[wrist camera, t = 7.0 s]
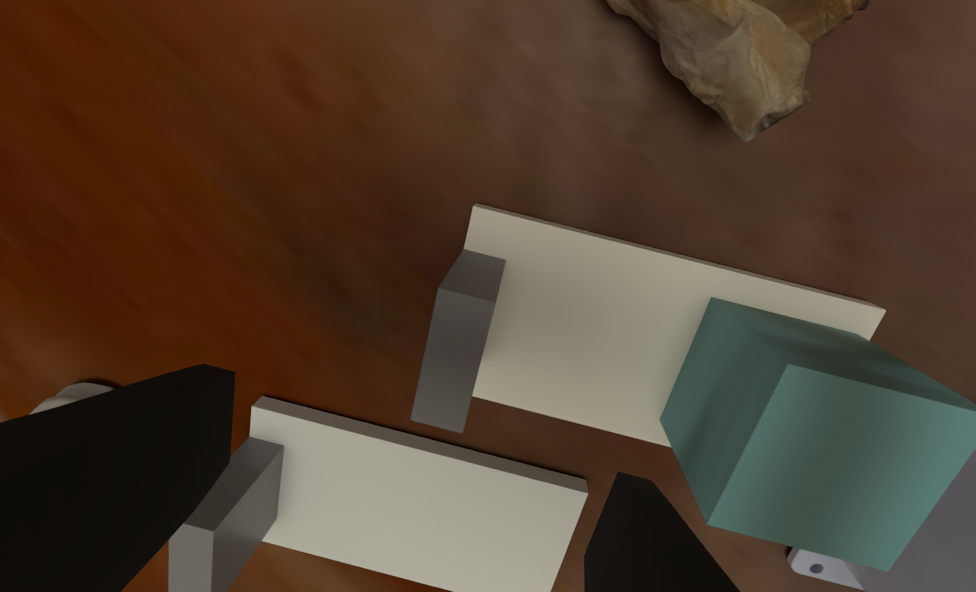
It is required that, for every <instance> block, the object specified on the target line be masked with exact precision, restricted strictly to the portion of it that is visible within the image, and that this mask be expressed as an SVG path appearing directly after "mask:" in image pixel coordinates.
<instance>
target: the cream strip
mask: <svg viewBox="0 0 976 592" xmlns="http://www.w3.org/2000/svg"><path fill="white" fill-rule="evenodd" d="M711 297H714V298H718V299H722V300H726V301H730V302H734V303H738V304H742V305H746V306H750V307H754V308H758V309H761V310H765V311H769V312H773V313H777V314H781V315H785V316H789V317H793V318H797V319H801V320H805V321H809V322H813V323H817V324H821V325H825V326H829V327H833V328H837V329H841V330H845V331H848V332H852V333H856V334H858V335H860V336H862V337H863V338H865V339H867V340H868V341H869V340H870V339H871V337H872V335H873V333H874V332H875V330H876V328H877V326H878V324H879V323H880V321H881V319H882V317H883V315H884V314H885V312H886V310H885V309H883V308H881V307H879V306H877V305H874V304H872V303H870V302H867V301H863V300H859V299H855V298H851V297H847V296H843V295H839V294H835V293H831V292H827V291H823V290H819V289H815V288H811V287H807V286H803V285H799V284H795V283H791V282H787V281H783V280H779V279H775V278H771V277H768V276H764V275H760V274H756V273H752V272H748V271H744V270H740V269H736V268H732V267H728V266H724V265H720V264H716V263H712V262H708V261H704V260H700V259H696V258H692V257H688V256H684V255H680V254H676V253H672V252H668V251H664V250H660V249H656V248H652V247H648V246H644V245H640V244H637V243H633V242H629V241H625V240H621V239H617V238H613V237H609V236H605V235H601V234H597V233H593V232H589V231H585V230H581V229H577V228H573V227H569V226H565V225H561V224H557V223H553V222H549V221H545V220H541V219H537V218H533V217H529V216H525V215H521V214H517V213H513V212H509V211H506V210H502V209H498V208H494V207H490V206H486V205H482V204H478V203H476V204H475V205H474V206H473V209H472V214H471V218H470V223H469V227H468V232H467V236H466V241H465V245H464V249H463V251H462V252H461V254H460V255H459V257H458V258H457V260H456V261H455V263H454V264H453V266H452V268H451V269H450V271H449V272H448V274H447V275H446V277H445V278H444V280H443V281H442V283H441V284H440V286H439V287H438V291H437V296H436V301H435V305H434V310H433V315H432V320H431V324H430V329H429V334H428V339H427V343H426V348H425V353H424V358H423V362H422V367H421V372H420V377H419V381H418V386H417V391H416V396H415V400H414V405H413V410H412V415H411V420H412V421H416V422H420V423H424V424H427V425H431V426H435V427H439V428H443V429H447V430H451V431H454V432H458V433H463V429H464V425H465V421H466V418H467V414H468V410H469V406H470V402H471V398H472V396H474V397H478V398H482V399H486V400H490V401H493V402H497V403H501V404H505V405H509V406H513V407H517V408H521V409H524V410H528V411H532V412H536V413H540V414H544V415H548V416H552V417H555V418H559V419H563V420H567V421H571V422H575V423H579V424H583V425H587V426H590V427H594V428H598V429H602V430H606V431H610V432H614V433H618V434H621V435H625V436H629V437H633V438H637V439H641V440H645V441H649V442H652V443H656V444H660V445H664V446H668V447H671V445H670V442H669V440H668V438H667V436H666V434H665V431H664V429H663V427H662V425H661V423H660V417H661V415H662V412H663V410H664V408H665V405H666V403H667V401H668V398H669V396H670V393H671V391H672V389H673V386H674V384H675V382H676V379H677V377H678V374H679V372H680V370H681V367H682V365H683V363H684V360H685V358H686V355H687V353H688V351H689V348H690V346H691V344H692V341H693V339H694V336H695V334H696V332H697V329H698V327H699V325H700V322H701V320H702V317H703V315H704V313H705V310H706V308H707V306H708V303H709V301H710V298H711Z"/></svg>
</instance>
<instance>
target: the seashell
mask: <svg viewBox="0 0 976 592" xmlns="http://www.w3.org/2000/svg"><path fill="white" fill-rule="evenodd" d="M605 1H606V2H607V3H608V4H609V5H610V6H611V8H612V9H613V10H614V11H615V12H616V13H617V14H622V15H628V16H630V17H631V18H632V19H633V20H634V21H635V22H636V23H637V24H638V25H639V26H640V27H641V28H642V29H643V30H644V31H645V32H646V34H648V35H649V36H650V37H651V38H652V39H653V40H655V41H656V42H657V43H658V44H659V45H660V52H661V57H662V60H663V63H664V65H665V66H666V68H667V69H668V70H669V71H670V73H671V74H672V75H673V76H675V77H677V78H679V79H681V80H683V82H684V83H685V85H686V86H687V88H688V89H689V91H690V92H691V94H693V95H694V96H696V97H697V98H699V99H700V100H701V101H702V102H703V103H704V104H707V105H708V106H710V107H711V108H713V109H714V110H716V111H717V112H718V113H719V115H720V116H721V117H722V118H723V120H724V121H725V122H726V124H727V125H728V126H729V128H730V129H731V130H732V131H733V132H734V134H735V135H736V136H737V137H738V138H739V139H740V140H741V141H742V143H746V142H748V141H750V140H752V139H754V138H755V137H756V136H757V135H758V134H759V133H761V132H762V131H764V130H765V129H767V128H769V127H770V126H772V125H773V124H775V123H777V122H778V121H780V120H781V119H783V118H785V117H786V116H788V115H789V114H791V113H793V112H794V111H796V110H797V109H799V108H801V107H802V106H804V105H805V104H807V103H809V101H810V99H811V97H812V94H811V92H810V91H806V90H804V76H805V73H806V70H807V68H808V65H809V61H810V54H811V48H812V47H813V46H814V45H815V44H816V43H817V42H818V41H819V40H820V39H822V38H823V37H825V36H827V35H828V34H829V33H831V32H832V31H833V30H834V29H835V28H836V27H838V26H839V25H840V24H842V23H843V22H845V21H847V20H849V19H851V18H852V16H853V15H854V13H855V12H856V10H864V9H865V8H866V7H867V6H868V5H869V0H605Z"/></svg>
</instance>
